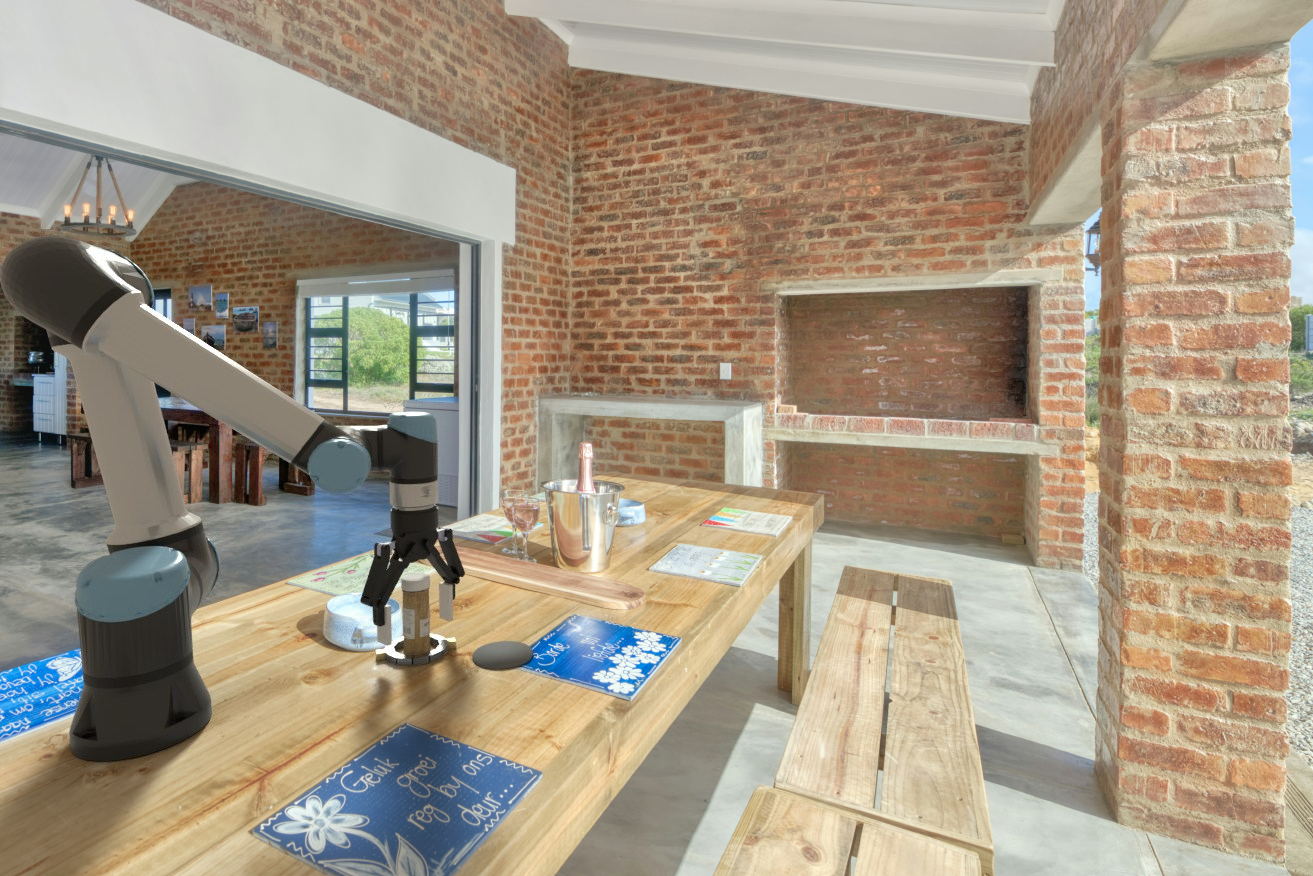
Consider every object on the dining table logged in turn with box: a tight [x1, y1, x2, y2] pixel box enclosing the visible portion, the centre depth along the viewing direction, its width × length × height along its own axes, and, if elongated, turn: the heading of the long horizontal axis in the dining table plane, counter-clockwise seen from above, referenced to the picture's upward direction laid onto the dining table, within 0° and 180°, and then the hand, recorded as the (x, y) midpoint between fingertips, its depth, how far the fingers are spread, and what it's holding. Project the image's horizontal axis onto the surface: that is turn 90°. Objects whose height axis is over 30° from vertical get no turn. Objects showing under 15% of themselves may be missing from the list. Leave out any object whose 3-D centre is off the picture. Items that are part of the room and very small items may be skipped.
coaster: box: [472, 640, 534, 670], centre depth 116 cm, size 10×10×1 cm
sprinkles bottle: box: [400, 572, 432, 655], centre depth 115 cm, size 5×5×13 cm
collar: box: [375, 633, 457, 667], centre depth 116 cm, size 13×10×1 cm
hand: (416, 630), depth 116 cm, fingers open, 12 cm apart
